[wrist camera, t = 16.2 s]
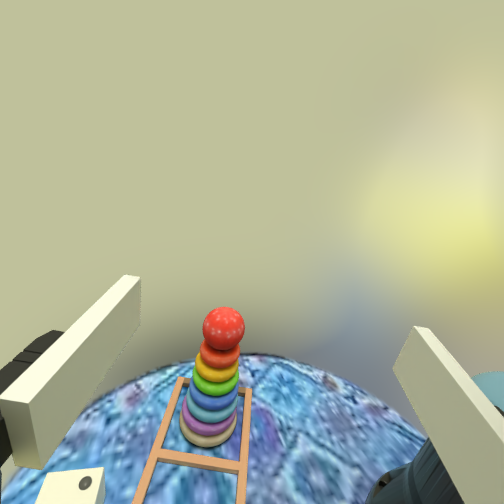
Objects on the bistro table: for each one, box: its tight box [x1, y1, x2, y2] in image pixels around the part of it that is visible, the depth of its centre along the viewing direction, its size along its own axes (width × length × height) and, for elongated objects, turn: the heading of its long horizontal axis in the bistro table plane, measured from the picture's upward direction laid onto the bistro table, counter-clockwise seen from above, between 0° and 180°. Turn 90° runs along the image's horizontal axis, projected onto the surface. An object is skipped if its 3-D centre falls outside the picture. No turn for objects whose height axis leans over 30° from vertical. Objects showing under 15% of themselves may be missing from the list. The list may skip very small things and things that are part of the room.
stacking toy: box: [180, 307, 245, 447], centre depth 36 cm, size 8×8×19 cm
